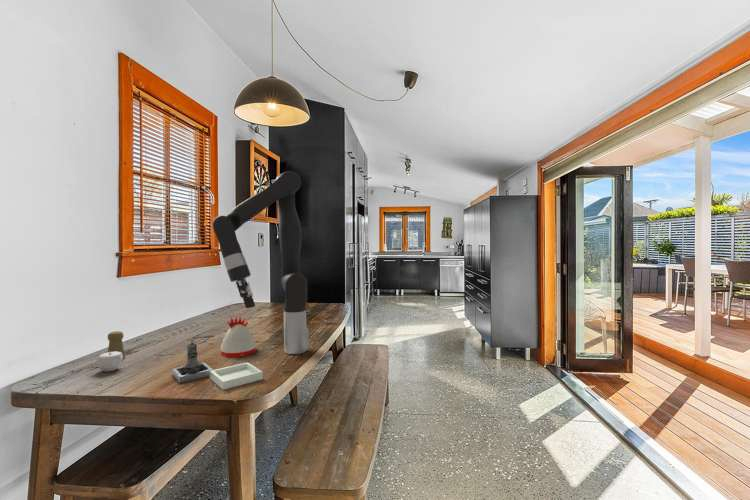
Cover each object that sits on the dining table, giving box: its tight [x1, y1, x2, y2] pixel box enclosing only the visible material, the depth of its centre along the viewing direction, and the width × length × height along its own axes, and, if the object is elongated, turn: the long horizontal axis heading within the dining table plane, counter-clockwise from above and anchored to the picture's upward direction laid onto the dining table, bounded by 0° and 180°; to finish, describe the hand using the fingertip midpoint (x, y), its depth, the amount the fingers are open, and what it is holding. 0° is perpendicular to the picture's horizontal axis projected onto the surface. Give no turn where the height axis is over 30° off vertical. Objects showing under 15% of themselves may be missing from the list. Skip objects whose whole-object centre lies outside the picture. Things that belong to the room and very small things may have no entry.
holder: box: [171, 362, 214, 384], centre depth 125 cm, size 10×10×2 cm
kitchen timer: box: [220, 316, 257, 358], centre depth 151 cm, size 14×14×15 cm
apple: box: [96, 351, 124, 372], centre depth 131 cm, size 8×8×7 cm
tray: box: [209, 362, 264, 391], centre depth 121 cm, size 13×13×2 cm
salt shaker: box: [182, 340, 202, 375], centre depth 125 cm, size 6×6×12 cm
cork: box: [107, 330, 126, 360], centre depth 143 cm, size 6×6×11 cm
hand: (251, 307), depth 135 cm, fingers open, 8 cm apart
